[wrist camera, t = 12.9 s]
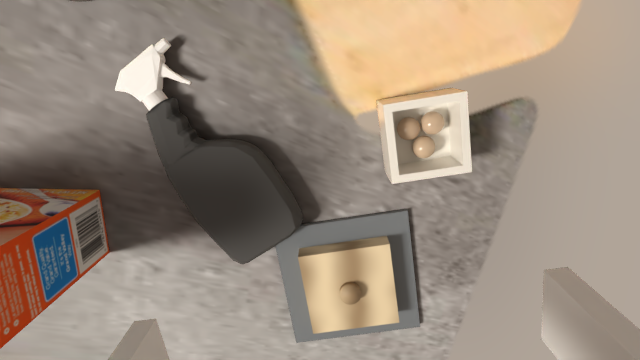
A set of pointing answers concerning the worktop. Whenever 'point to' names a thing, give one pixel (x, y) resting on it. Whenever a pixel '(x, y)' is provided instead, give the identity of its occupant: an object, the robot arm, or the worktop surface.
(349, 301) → the lid
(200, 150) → the spray bottle
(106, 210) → the worktop surface
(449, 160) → the white open box
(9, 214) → the orange cereal box
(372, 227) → the mat
